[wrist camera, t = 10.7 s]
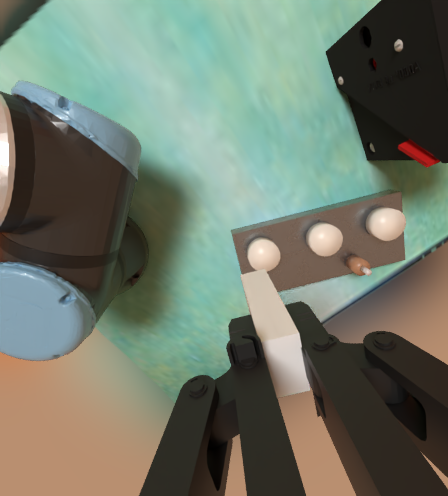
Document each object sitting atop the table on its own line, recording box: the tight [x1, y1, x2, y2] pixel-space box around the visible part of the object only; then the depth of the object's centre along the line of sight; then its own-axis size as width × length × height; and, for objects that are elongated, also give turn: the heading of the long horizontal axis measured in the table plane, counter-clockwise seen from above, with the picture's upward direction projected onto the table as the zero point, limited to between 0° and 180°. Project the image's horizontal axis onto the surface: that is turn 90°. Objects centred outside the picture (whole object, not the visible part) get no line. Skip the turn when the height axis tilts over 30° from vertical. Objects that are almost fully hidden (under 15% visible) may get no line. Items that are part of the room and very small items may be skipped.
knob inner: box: [247, 237, 280, 272], centre depth 47 cm, size 5×5×6 cm
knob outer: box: [366, 207, 406, 241], centre depth 47 cm, size 5×5×6 cm
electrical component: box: [326, 0, 448, 167], centre depth 35 cm, size 18×10×20 cm, turn 25°
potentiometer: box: [346, 255, 372, 276], centre depth 46 cm, size 3×3×5 cm
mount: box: [231, 190, 405, 292], centre depth 49 cm, size 28×12×3 cm, turn 104°
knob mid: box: [306, 222, 343, 256], centre depth 47 cm, size 5×5×6 cm
